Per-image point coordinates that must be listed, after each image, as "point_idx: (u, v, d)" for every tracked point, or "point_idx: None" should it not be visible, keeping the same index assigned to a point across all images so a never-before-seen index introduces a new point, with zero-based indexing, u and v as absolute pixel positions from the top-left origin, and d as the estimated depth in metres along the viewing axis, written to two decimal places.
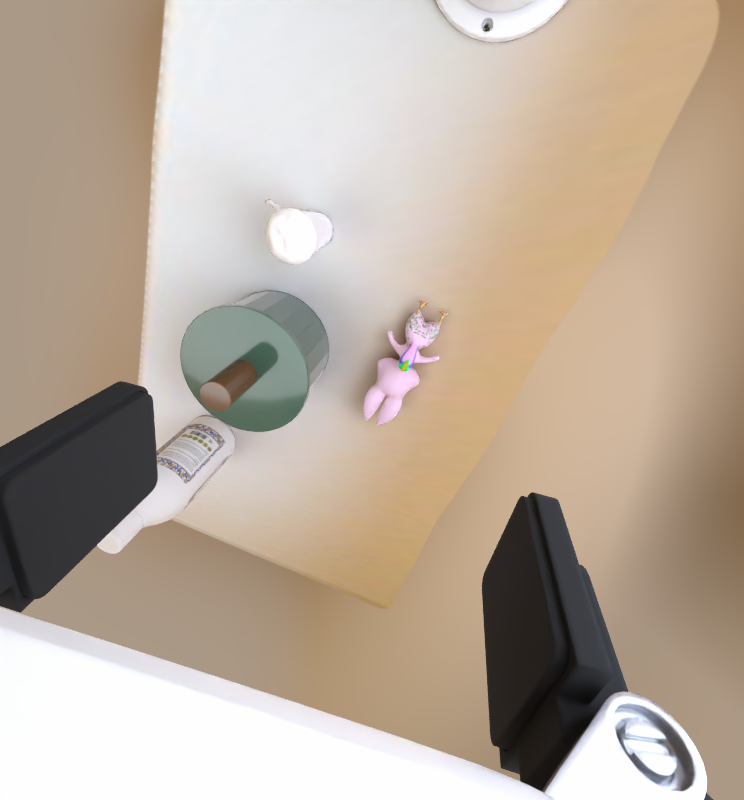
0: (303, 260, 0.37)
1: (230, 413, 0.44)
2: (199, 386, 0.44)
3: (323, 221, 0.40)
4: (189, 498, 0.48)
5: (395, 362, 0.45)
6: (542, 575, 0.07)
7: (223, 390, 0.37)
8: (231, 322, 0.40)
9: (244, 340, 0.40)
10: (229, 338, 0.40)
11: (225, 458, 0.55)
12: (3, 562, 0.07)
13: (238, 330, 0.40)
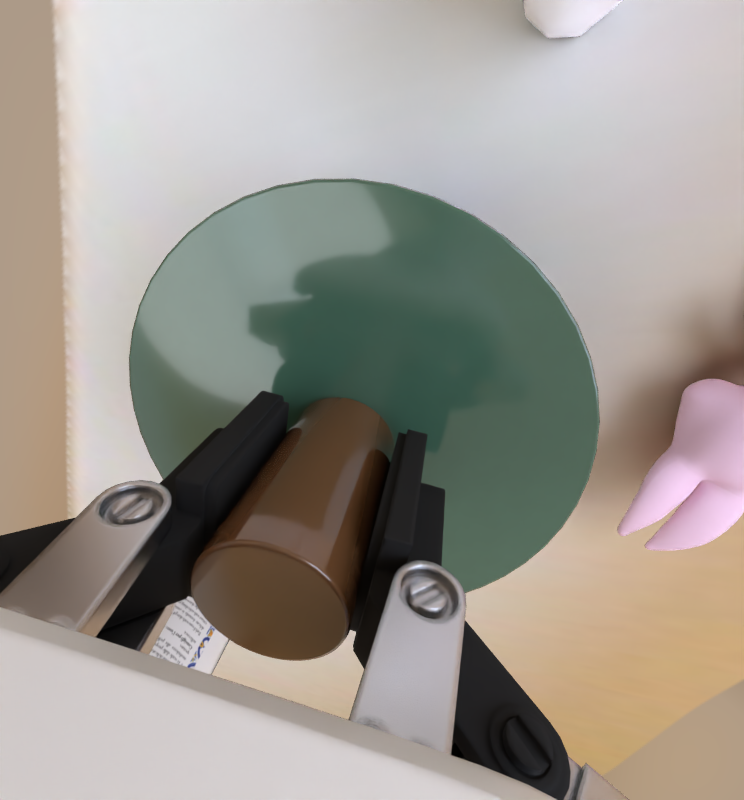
0: None
1: None
2: None
3: None
4: None
5: None
6: (387, 483, 0.09)
7: (316, 588, 0.07)
8: (318, 253, 0.10)
9: (362, 329, 0.11)
10: (304, 320, 0.11)
11: None
12: None
13: (342, 285, 0.10)
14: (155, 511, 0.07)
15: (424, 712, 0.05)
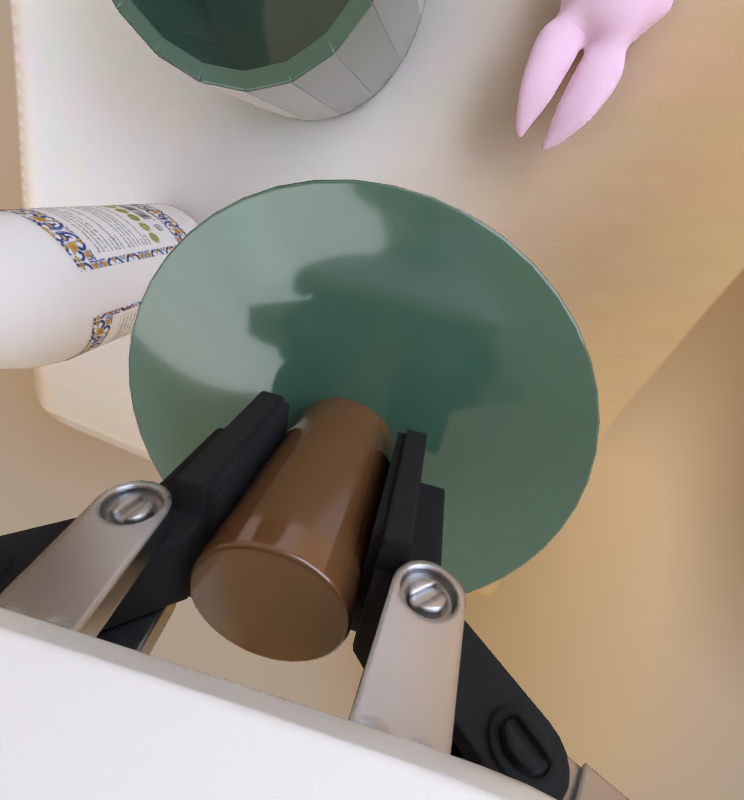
0: None
1: None
2: None
3: None
4: (94, 315, 0.19)
5: None
6: (386, 483, 0.09)
7: (316, 590, 0.07)
8: (318, 254, 0.10)
9: (362, 330, 0.11)
10: (304, 321, 0.11)
11: None
12: None
13: (342, 287, 0.10)
14: (155, 511, 0.07)
15: (423, 712, 0.05)
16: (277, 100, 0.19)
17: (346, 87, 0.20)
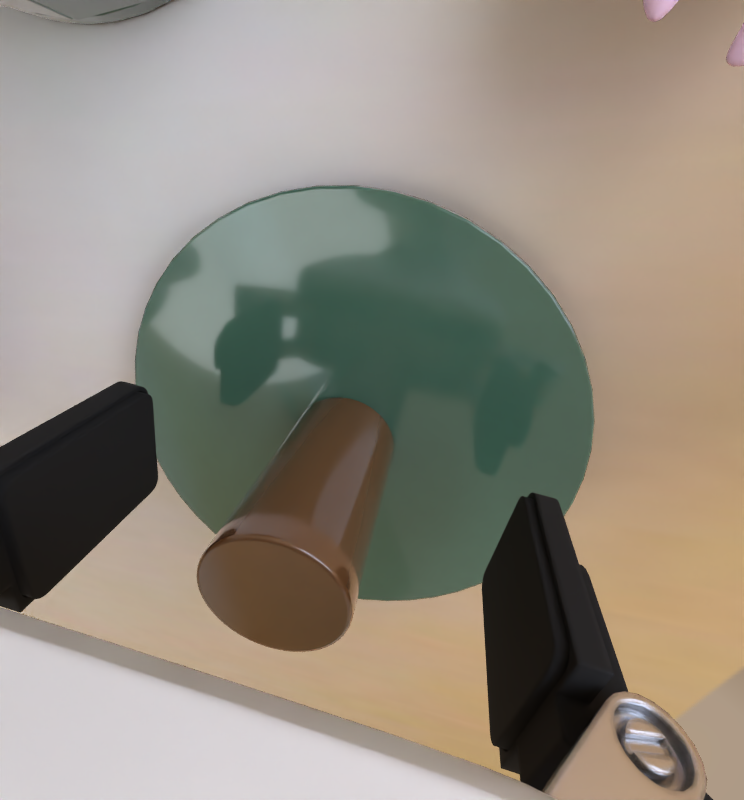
0: None
1: None
2: (197, 474, 0.14)
3: None
4: None
5: None
6: (542, 575, 0.07)
7: (319, 581, 0.07)
8: (320, 257, 0.10)
9: (363, 331, 0.11)
10: (307, 322, 0.11)
11: None
12: (3, 562, 0.07)
13: (344, 289, 0.10)
14: None
15: None
16: None
17: None
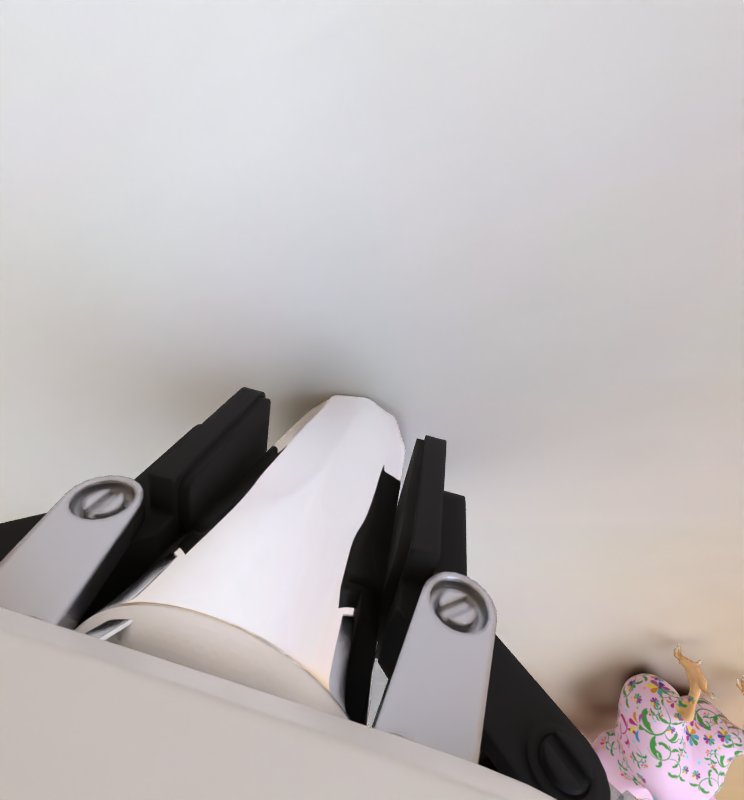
0: None
1: None
2: None
3: (381, 484, 0.09)
4: None
5: None
6: (409, 492, 0.08)
7: None
8: None
9: None
10: None
11: None
12: None
13: None
14: (126, 506, 0.07)
15: (463, 731, 0.05)
16: None
17: None
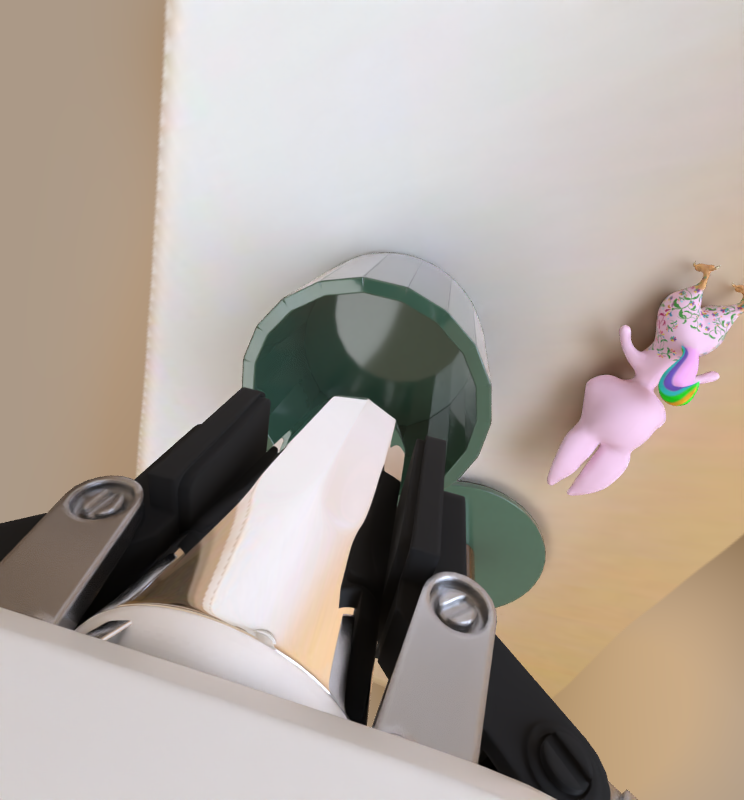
0: None
1: None
2: None
3: (381, 484, 0.09)
4: None
5: (631, 385, 0.24)
6: (409, 492, 0.08)
7: None
8: None
9: (467, 522, 0.32)
10: None
11: None
12: None
13: None
14: (127, 506, 0.07)
15: (463, 731, 0.05)
16: None
17: None
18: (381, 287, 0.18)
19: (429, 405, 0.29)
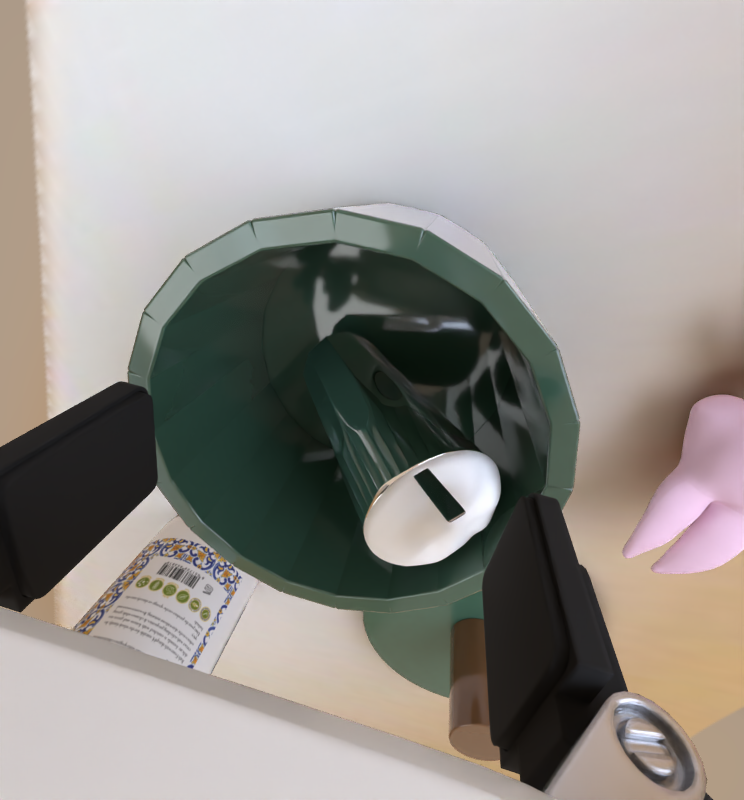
0: None
1: (434, 677, 0.27)
2: (388, 640, 0.26)
3: (406, 379, 0.16)
4: None
5: None
6: (542, 575, 0.07)
7: None
8: None
9: None
10: None
11: (241, 612, 0.24)
12: (3, 562, 0.07)
13: None
14: None
15: None
16: None
17: None
18: (372, 229, 0.09)
19: None
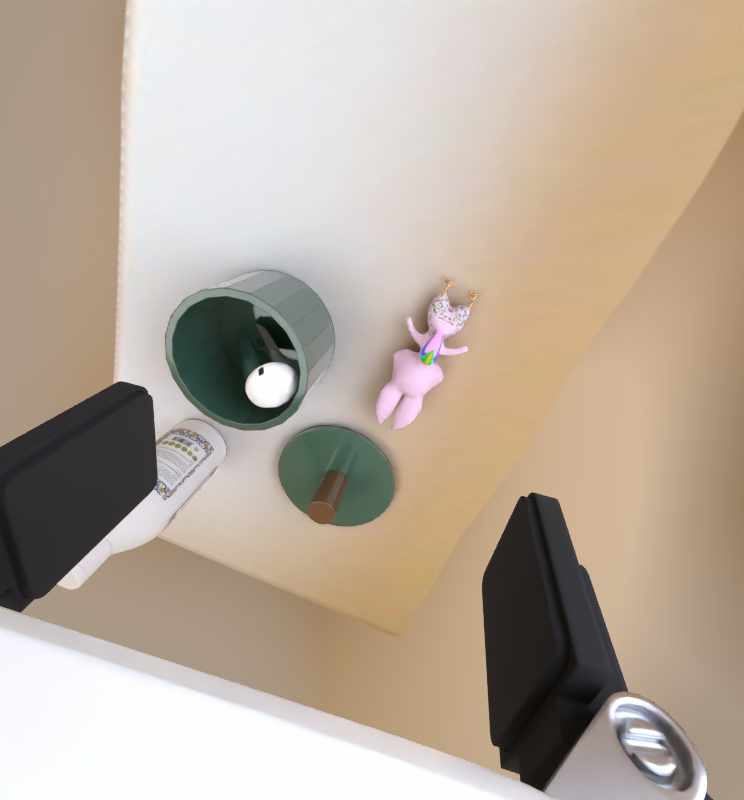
0: None
1: None
2: (293, 488, 0.49)
3: (274, 342, 0.39)
4: (169, 517, 0.40)
5: (415, 354, 0.38)
6: (542, 575, 0.07)
7: (329, 509, 0.42)
8: (329, 441, 0.45)
9: (339, 455, 0.46)
10: (325, 453, 0.46)
11: (214, 468, 0.48)
12: (3, 562, 0.07)
13: (334, 447, 0.46)
14: None
15: None
16: None
17: None
18: (236, 293, 0.32)
19: None
